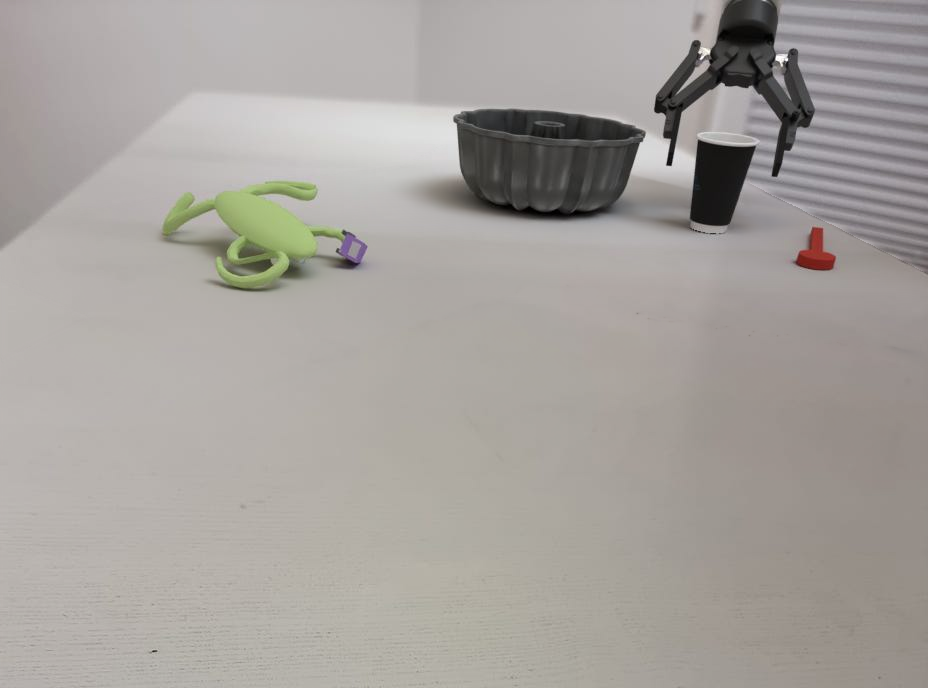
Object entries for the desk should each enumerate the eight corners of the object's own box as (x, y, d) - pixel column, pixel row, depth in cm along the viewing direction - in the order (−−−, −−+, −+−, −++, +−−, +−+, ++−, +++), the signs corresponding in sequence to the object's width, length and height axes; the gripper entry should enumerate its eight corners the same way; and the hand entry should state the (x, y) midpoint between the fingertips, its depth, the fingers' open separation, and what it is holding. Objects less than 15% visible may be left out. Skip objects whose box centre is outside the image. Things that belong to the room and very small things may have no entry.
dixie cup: (750, 234, 122) (773, 141, 115) (707, 239, 119) (728, 144, 112) (708, 219, 127) (727, 130, 121) (666, 224, 124) (683, 132, 117)
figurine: (300, 217, 116) (298, 168, 113) (396, 277, 98) (397, 221, 95) (155, 228, 108) (148, 176, 105) (231, 295, 90) (225, 235, 87)
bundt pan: (539, 174, 145) (546, 102, 139) (671, 210, 130) (686, 131, 124) (411, 191, 131) (413, 111, 125) (543, 235, 116) (553, 147, 110)
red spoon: (832, 237, 123) (835, 227, 123) (833, 272, 110) (836, 261, 109) (799, 232, 124) (801, 223, 124) (795, 266, 111) (798, 256, 110)
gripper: (838, 48, 123) (814, 193, 120) (651, 33, 126) (624, 173, 124) (855, 2, 115) (830, 155, 113) (657, -13, 119) (628, 135, 116)
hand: (722, 165), depth 118 cm, fingers open, 13 cm apart
